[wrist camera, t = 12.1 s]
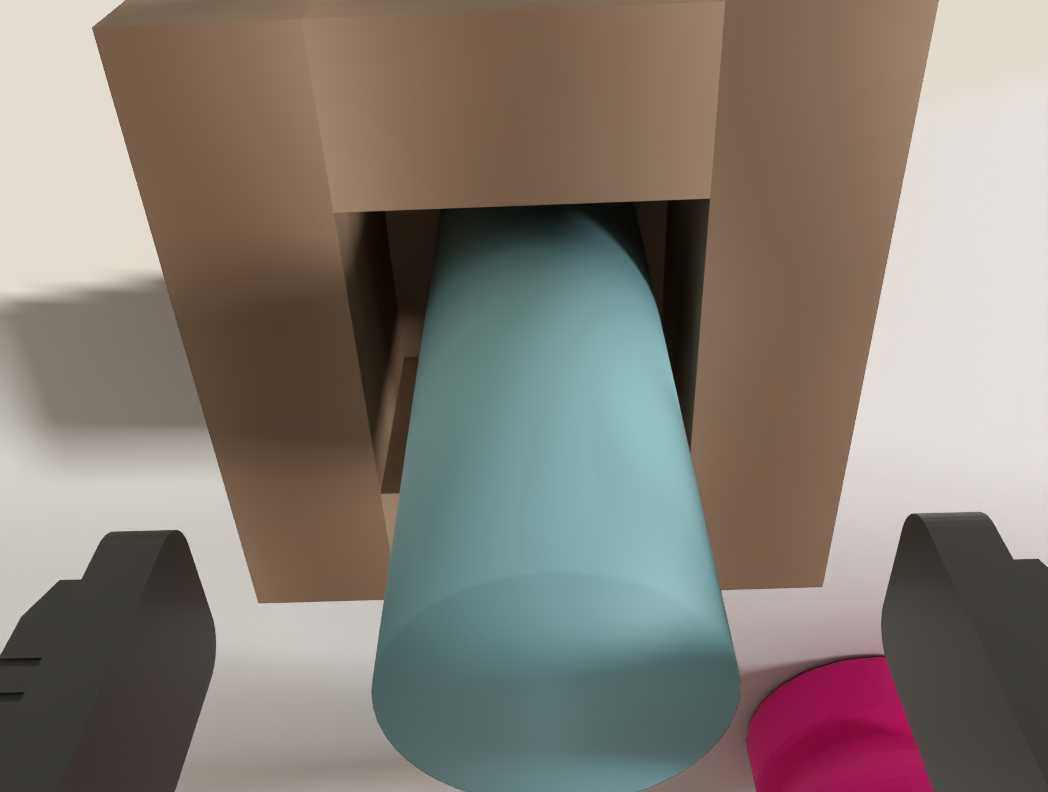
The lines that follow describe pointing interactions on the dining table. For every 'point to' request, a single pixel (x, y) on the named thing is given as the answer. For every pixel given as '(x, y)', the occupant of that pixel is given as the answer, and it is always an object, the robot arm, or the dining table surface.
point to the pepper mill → (836, 734)
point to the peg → (549, 522)
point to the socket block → (516, 180)
